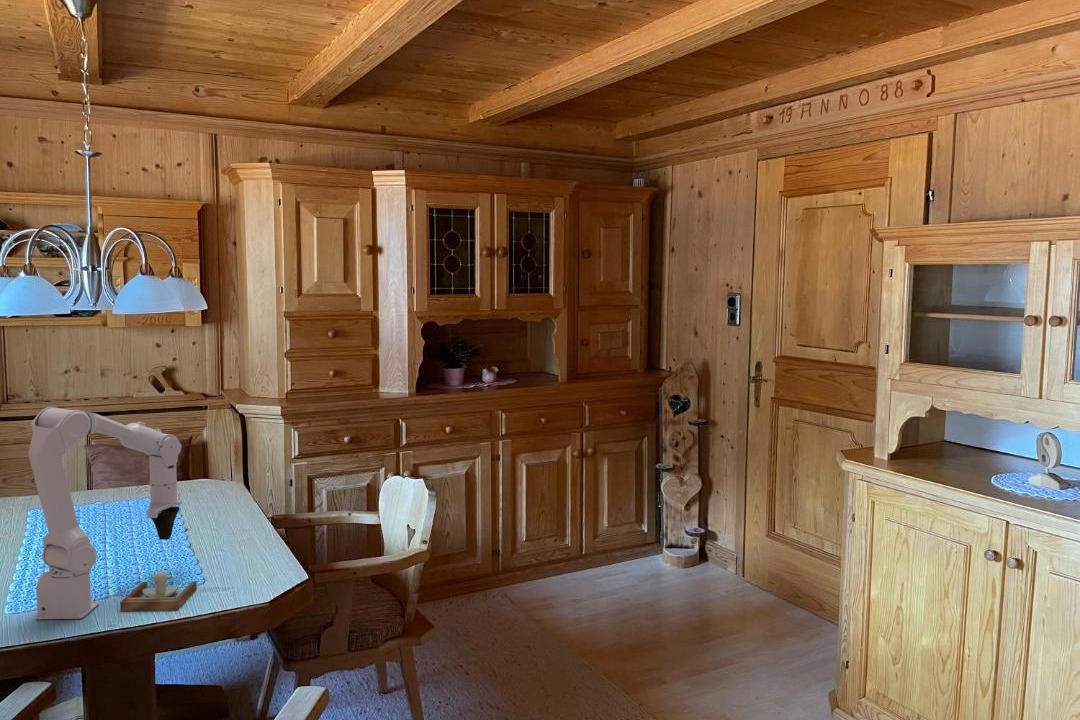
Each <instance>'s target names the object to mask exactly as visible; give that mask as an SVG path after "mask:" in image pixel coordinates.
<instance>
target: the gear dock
mask: <svg viewBox="0 0 1080 720" xmlns="http://www.w3.org/2000/svg"><path fill="white" fill-rule="evenodd" d="M145 588H148V582H147V581H142V582H141V583H139V584H138V586H136V587H135V588H134V589H133V590H132V591H131V592H130V593H128V595H126V597H124V598H123V599H122V600H121V601H120V602H119V603H120V604H119V609H120V610H119V611H120V612H145V611H146V612H147V611H148V612H149V611H152V612H153V611H154V612H155V611H160V612H161V611H179V610H180V609H181V608H182V606H184V604H185V603H186V602H187V601H188V600H189V599H190V598H191V596H192V595H193V594H194V593H196V591H197V590H196V589H197V588H198V587H197V580H195V581H194V580H193V581H191V582H190V583H189V584H188V585H187V586H186V587H185V588H184V589H183V590H182V591H181V592H180V593H179V594H178V595H177V596H173V597H172V596H170V597H152V598H150V597H142V596H143V595H144V594H143V589H145ZM189 597H190V598H189ZM188 598H189V599H188ZM186 600H187V601H186ZM179 608H180V609H179Z"/></svg>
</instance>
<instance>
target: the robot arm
mask: <svg viewBox="0 0 1080 720" xmlns="http://www.w3.org/2000/svg"><path fill="white" fill-rule="evenodd" d="M30 426H31V428H32V436H31V441H30V446H29V449H28V459H29V463H30V468H31V471H32V475H33V478H34V482H35V486H36V489H37V493H38V498H39V501H40V504H41V509H42V513H43V517H44V521H45V523H46V528H47V531H48V533H46V535H45V536H44V537H43V538H42V543H43V550H42V553H41V554H42V555H41V556H42V561H43V562H44V564H45V565H46V566H48V569H49V570H48V571H45V572H43V573H42V574H41V575H40V576H39V578H38V580H37V583H36V589H35V590H36V592H35V593H36V610H37V611H36V612H37V613H36V614H37V615H36V616H35V620H74V619H75V620H76V619H77V620H79V619H80V620H81V619H84V617H86V616H87V615H88V614H89V613H90V612H91V611H93V610H94V609H95V608H96V607H97V606H99V604H100V601H92V596H91V574H90V573H91V572H92V568H93V566H94V565H95V563H96V562H97V555H98V554H97V550H96V548H95V547H94V546H93V545H92V543H91V541H90V540H89V536H88V535H87V534H86V532H84V530H82V528H81V527H80V525H79V523H78V519H77V515H76V511H75V507H74V504H73V500H72V499H73V498H72V495H71V492H70V491H71V490H70V488H69V483H68V479H67V475H66V471H65V467H64V463H63V457H64V456H65V454H66V453H67V452H68V451H69V450H71V449H72V448H73V447H74V446H76V445H77V443H79V442H80V441H81V440H83V439H84V438H85V437H86V436H87V435H93V434H95V433H99V434H102V435H105V436H110V437H112V438H116V439H119V441H120V442H119V443H120V444H121V445H122V446H123V447H125V448H127V449H131V450H135V451H137V452H140V453H143V454H145V455H146V456H149V490H150V495H149V496H150V501H149V506H148V509H147V510H146V513H147V517H146V518H147V519H151V520H152V522H153V524H154V526H155V529H156V532H157V535H158V539H159V540H163V541H164V540H171V537H172V533H173V529H174V523H175V521H176V517H177V515H178V514H179V512H180V507H179V506H180V505H182V504H183V500H181V499H180V493H178V489H177V488H178V486H177V485H178V483H177V482H178V481H177V463H178V462H179V459H178V457H179V455H180V453H181V450H182V444H181V443H180V440H179V439H178V437H177V436H176V435H174V434H171V433H164V432H162V429H161V428H154V429H153V428H151V427H149V426H146V423H145V422H142V421H136V422H130V423H128V424H126V425H125V424H123V423H121V422H118V421H116V420H113V419H111V418H108V417H105V416H103V415H101V414H98V413H96V412H95V413H94V412H87V411H84V410H80V409H79V410H78V409H67V408H59V407H56V406H48V407H45V408H43V409H42V410H40V411H39V413H38V414H37V415H36V416H35V418H34V419H33V420H32V421H31V423H30Z"/></svg>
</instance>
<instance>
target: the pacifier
mask: <svg viewBox="0 0 1080 720" xmlns="http://www.w3.org/2000/svg"><path fill="white" fill-rule="evenodd" d="M168 578H169V577H168V574H166V573H165V572H163V571H158V572H156V573H155V574H154V575H152V582H153V583H154V587H147V588H145V589H143V595H144V596H146V598H152V597H172V596H174V595H175V594H177V593H178V589H179V585H173V586H167V585H166V583H167V582H168Z"/></svg>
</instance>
